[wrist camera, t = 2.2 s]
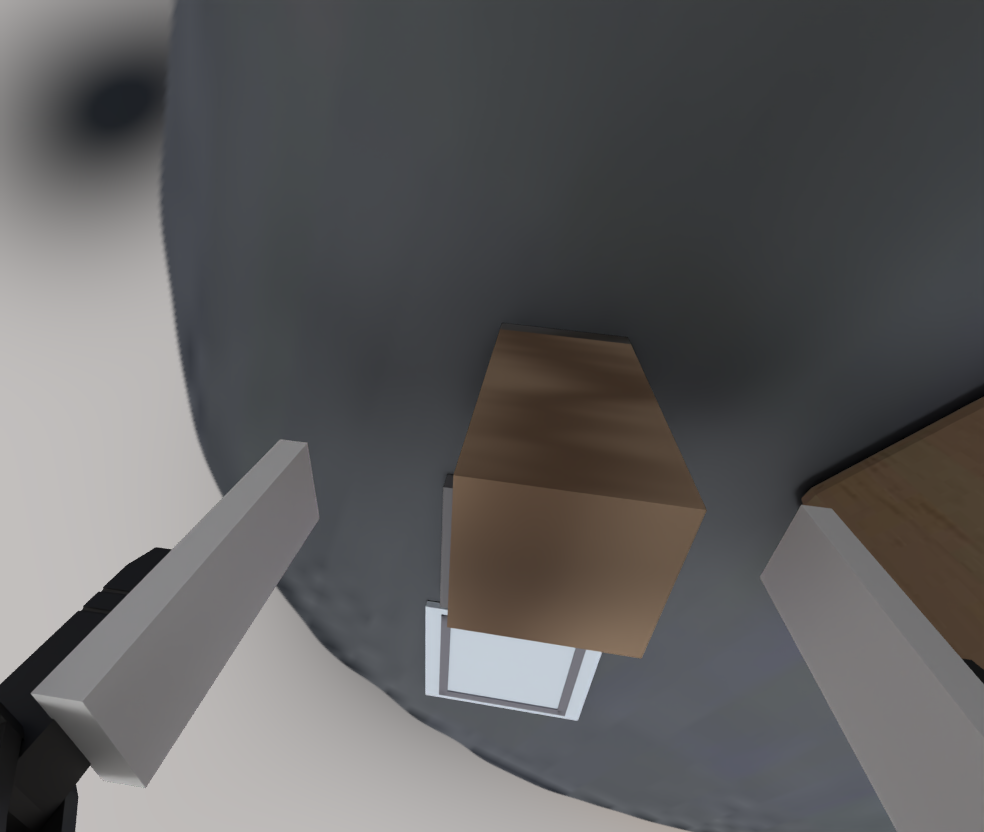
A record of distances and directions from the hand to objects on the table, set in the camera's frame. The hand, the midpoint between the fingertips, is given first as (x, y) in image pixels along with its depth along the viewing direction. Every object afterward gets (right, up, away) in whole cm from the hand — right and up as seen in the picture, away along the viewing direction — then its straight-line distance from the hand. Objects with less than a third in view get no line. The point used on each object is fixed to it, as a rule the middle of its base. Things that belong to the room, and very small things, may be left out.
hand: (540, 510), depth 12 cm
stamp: (+1, +4, +6) cm, 8 cm away
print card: (0, -14, +17) cm, 22 cm away
